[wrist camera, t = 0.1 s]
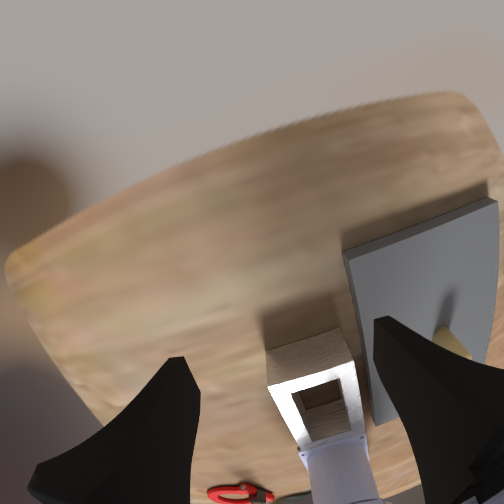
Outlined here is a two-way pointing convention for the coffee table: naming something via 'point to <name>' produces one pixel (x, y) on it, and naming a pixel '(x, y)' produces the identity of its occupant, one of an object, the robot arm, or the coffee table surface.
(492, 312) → the board
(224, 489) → the tow hook
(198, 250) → the coffee table surface
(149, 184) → the coffee table surface
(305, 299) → the coffee table surface
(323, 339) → the steel link
